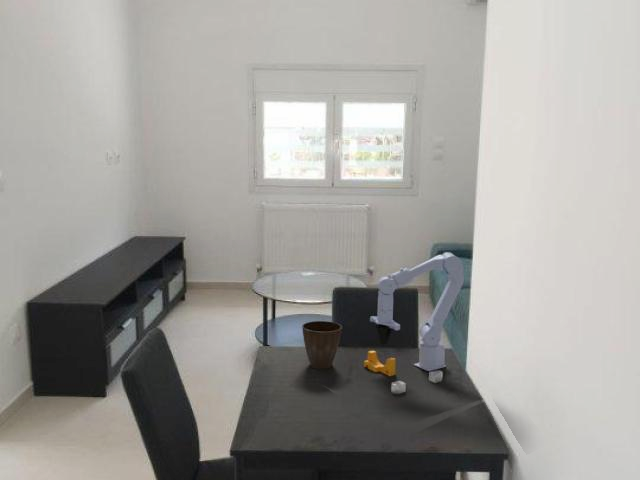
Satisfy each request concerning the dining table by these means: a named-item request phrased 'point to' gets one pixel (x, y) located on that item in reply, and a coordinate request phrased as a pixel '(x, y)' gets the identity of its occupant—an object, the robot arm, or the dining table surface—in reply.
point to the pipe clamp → (377, 366)
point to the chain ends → (401, 386)
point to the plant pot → (321, 342)
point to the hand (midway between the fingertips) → (384, 344)
